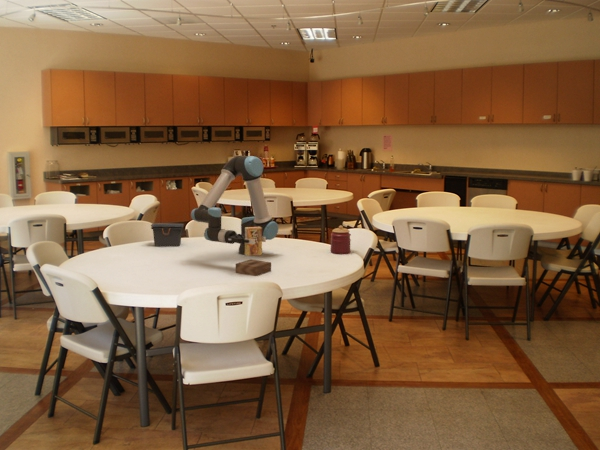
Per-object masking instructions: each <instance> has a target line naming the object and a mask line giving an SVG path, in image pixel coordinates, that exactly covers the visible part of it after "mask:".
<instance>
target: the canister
mask: <svg viewBox="0 0 600 450" xmlns="http://www.w3.org/2000/svg"><path fill="white" fill-rule="evenodd" d="M330 236H331V237H330V253H332V254H334V255H347V254H350V253H351V241H352V239H351V236H352V234H351V233H350V230H349V229H348V228H345V227H344V226H343V225H339V226H338V227H337V228H336V227H335V228H334V229H332V231H331V233H330Z"/></svg>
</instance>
